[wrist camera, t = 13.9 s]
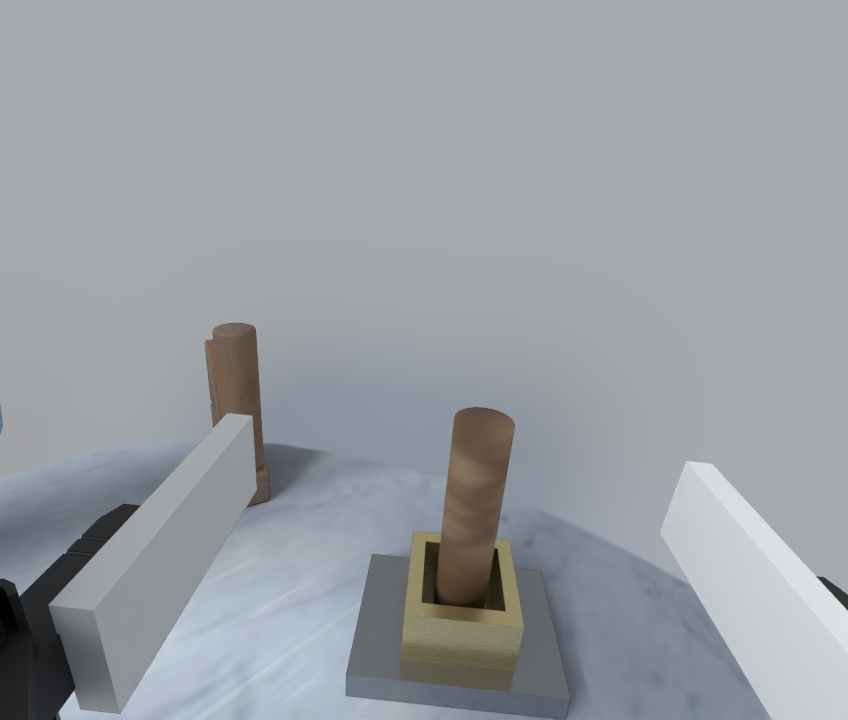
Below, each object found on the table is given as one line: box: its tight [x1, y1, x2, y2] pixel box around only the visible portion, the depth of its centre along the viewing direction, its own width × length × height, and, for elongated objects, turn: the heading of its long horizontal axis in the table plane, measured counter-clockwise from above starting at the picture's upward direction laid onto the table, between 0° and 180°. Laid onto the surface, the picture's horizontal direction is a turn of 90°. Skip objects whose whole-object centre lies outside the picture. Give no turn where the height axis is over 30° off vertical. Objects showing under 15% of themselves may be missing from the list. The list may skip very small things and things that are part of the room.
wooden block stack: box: [205, 323, 270, 506], centre depth 46 cm, size 4×11×18 cm, turn 31°
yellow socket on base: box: [346, 531, 571, 720], centre depth 32 cm, size 14×10×6 cm
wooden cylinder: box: [433, 407, 515, 609], centre depth 30 cm, size 4×4×16 cm
